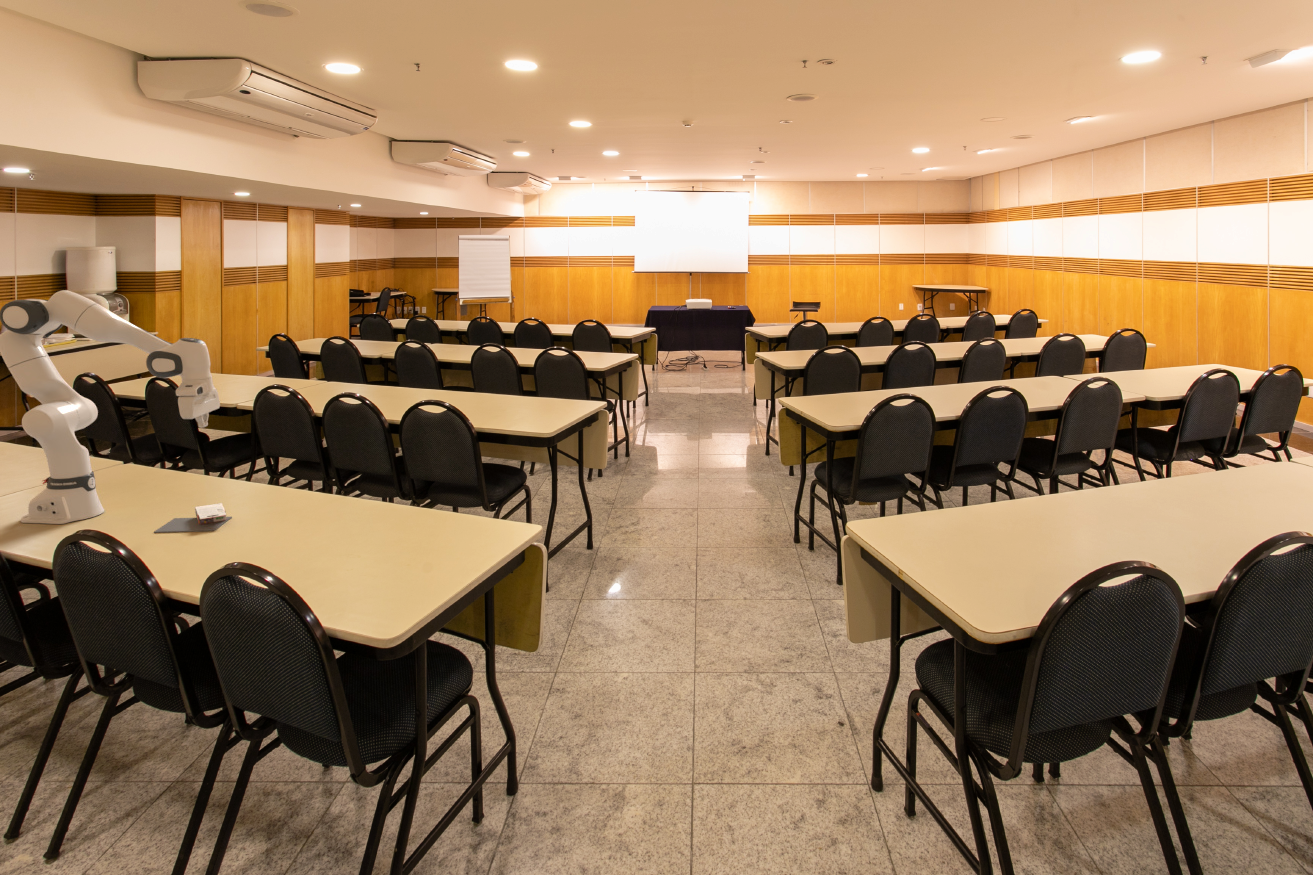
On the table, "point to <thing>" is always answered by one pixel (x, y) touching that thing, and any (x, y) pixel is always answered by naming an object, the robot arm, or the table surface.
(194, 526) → the mat
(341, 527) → the table surface
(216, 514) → the ink box
